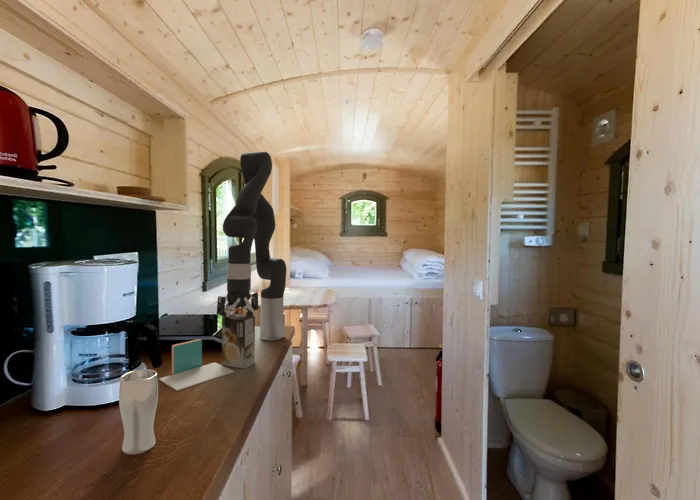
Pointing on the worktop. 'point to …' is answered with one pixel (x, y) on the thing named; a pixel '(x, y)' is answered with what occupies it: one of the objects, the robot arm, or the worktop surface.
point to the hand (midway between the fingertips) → (238, 325)
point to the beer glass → (138, 409)
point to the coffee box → (239, 341)
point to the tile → (186, 356)
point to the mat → (195, 376)
